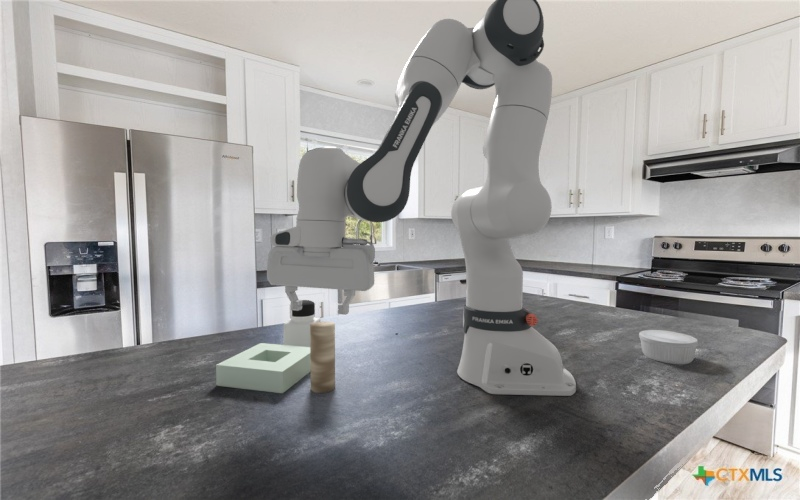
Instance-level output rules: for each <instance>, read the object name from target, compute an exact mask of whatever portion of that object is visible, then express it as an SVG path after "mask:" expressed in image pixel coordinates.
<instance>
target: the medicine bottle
mask: <svg viewBox="0 0 800 500" xmlns="http://www.w3.org/2000/svg"><path fill="white" fill-rule="evenodd" d="M301 300H302V309H301V310H299V311H297V310H291V303H290V304H289V320H287V321H286V322H284V323H283V324H282V327H283V328H282V329H283V331H282V332H283V335H282V336H283V337H282V339H283V340H282V341H283V344H282V345H290V346H302V347H310V325H311V324H312V323H316V322H321V317H315V316H316V315H315V314H316V312H315V310H316V307H315V305H316V303H315V302H314V301H313V300H309V299H301Z"/></svg>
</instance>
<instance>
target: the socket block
mask: <svg viewBox="0 0 800 500" xmlns="http://www.w3.org/2000/svg"><path fill="white" fill-rule="evenodd" d="M215 373H216V374H215V377H216V378H215V379H216V381H215V382H216V386H218V387H227V388H234V389H243V390H249V391H250V390H251V391H259V392H268V393H277V394H284V393H285V392H286V391H288V390H289V389H290V388H291V387H293V386H294V385H295V384H297V383H298V382H300V381H301V380H302V379H303V378H304V377H306V376H307V375H308V374H309V373H311V369H310V347H302V346H290V345H283V344H277V343H264V342H260V343H257V344H256V345H253V346H252V347H250V348H248V349H246V350H243V351H242V352H240V353H239V352H238V353H237V354H235V355H233V356H230V358H227V359H225V360H222V361H221V362H219V363H217V364H215Z"/></svg>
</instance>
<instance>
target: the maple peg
mask: <svg viewBox="0 0 800 500" xmlns="http://www.w3.org/2000/svg"><path fill="white" fill-rule="evenodd" d="M310 369H311V372H310V391H311V392H313V393H315V394H316V393H317V394H325V393H329V392H332V391H334V390H335V389H336V324H335V322H333V321H320V322H316V323H312V324H311V325H310Z"/></svg>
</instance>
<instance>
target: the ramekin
mask: <svg viewBox="0 0 800 500" xmlns="http://www.w3.org/2000/svg"><path fill="white" fill-rule="evenodd" d="M638 333H639V334H638V337H639V339H640V345H641V351H642V354H643V355H644V356H645V357H646V358H649V359H650V360H652V361H653V360H654V361H657V362H661V363H665V364H670V365H671V364H672V365H688V364H690V363H692V362H693V360H694V359H695V355H696V351H697V346H698V345H699V340H698V339H697V338H696V337H693V336H692V335H689V334H685V333H681V332H675V331H669V330H663V329H662V330H661V329H647V330H646V329H645V330H642V331H640V332H638Z"/></svg>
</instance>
